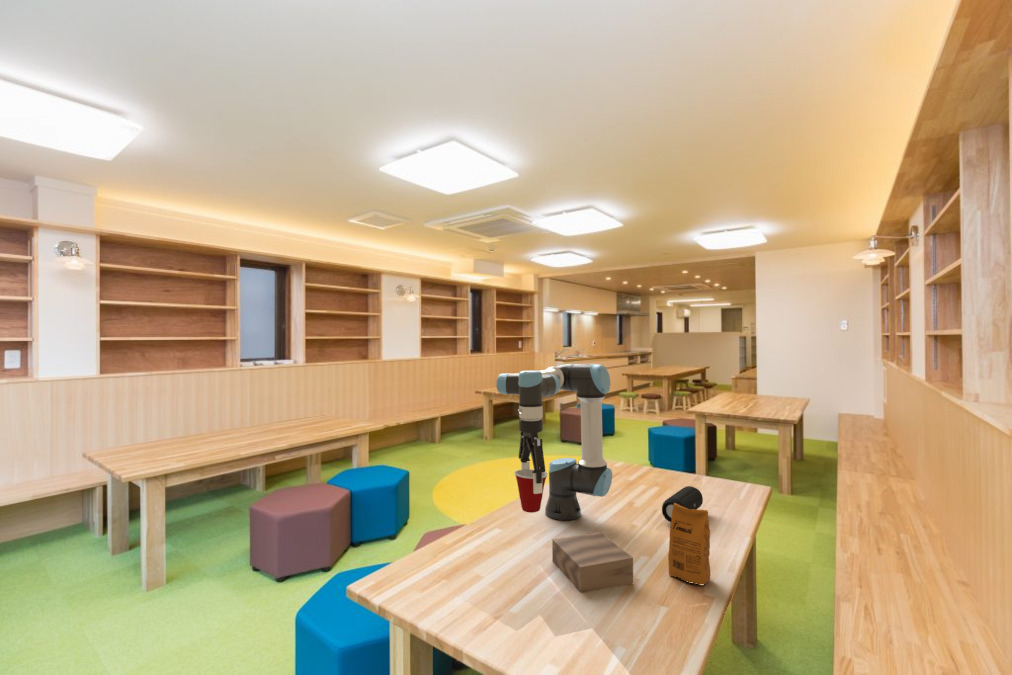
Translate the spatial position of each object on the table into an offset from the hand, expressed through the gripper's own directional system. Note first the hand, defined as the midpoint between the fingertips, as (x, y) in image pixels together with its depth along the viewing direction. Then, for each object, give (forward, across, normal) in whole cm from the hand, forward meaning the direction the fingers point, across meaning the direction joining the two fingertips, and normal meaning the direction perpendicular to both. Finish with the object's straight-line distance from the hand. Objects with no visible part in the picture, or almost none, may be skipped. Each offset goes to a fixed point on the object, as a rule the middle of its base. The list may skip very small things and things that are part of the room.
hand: (531, 487), depth 146 cm
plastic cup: (+7, 0, 0) cm, 7 cm away
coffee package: (+28, +17, +46) cm, 57 cm away
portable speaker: (+29, -26, +78) cm, 87 cm away
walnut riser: (+28, +6, +18) cm, 33 cm away
